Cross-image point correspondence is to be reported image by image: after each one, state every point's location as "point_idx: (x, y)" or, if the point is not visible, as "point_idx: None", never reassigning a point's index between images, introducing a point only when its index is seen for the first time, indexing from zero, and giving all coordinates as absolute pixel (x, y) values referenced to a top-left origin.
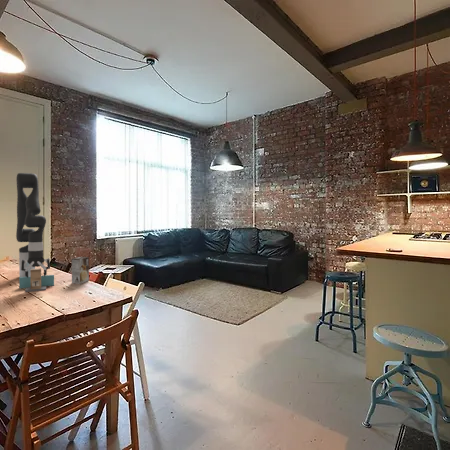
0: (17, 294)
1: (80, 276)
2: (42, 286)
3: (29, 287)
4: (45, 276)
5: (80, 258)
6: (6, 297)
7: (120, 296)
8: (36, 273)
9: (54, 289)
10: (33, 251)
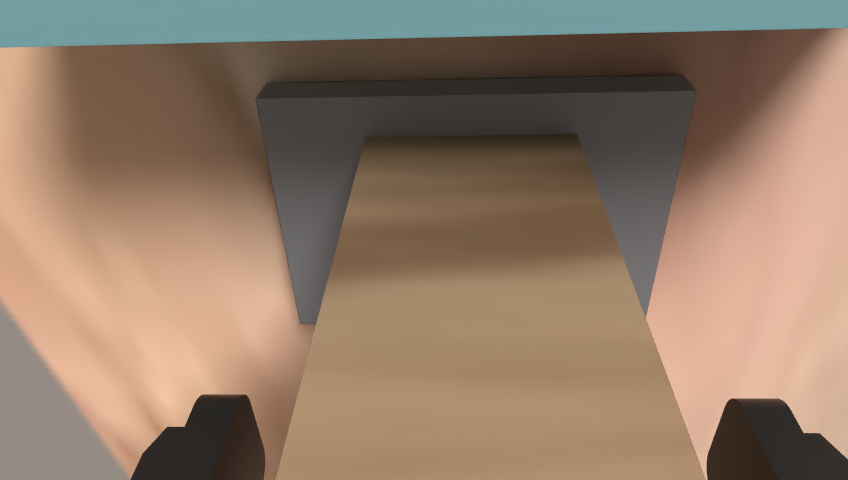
0: (226, 383)
1: None
2: (600, 143)
3: (323, 139)
4: (822, 21)
5: None
6: (137, 458)
7: None
8: None
9: (787, 303)
10: None
